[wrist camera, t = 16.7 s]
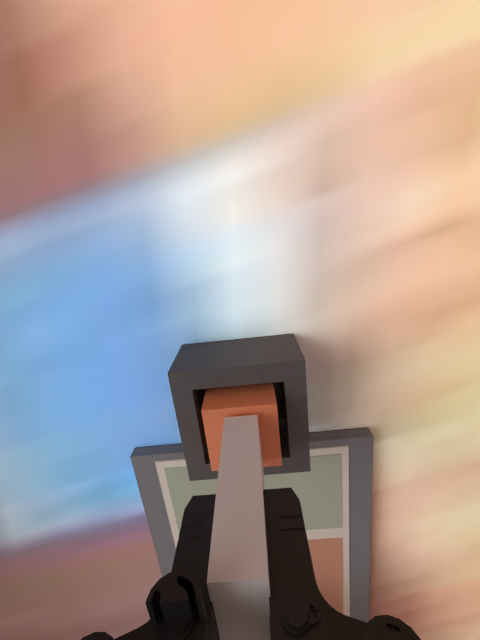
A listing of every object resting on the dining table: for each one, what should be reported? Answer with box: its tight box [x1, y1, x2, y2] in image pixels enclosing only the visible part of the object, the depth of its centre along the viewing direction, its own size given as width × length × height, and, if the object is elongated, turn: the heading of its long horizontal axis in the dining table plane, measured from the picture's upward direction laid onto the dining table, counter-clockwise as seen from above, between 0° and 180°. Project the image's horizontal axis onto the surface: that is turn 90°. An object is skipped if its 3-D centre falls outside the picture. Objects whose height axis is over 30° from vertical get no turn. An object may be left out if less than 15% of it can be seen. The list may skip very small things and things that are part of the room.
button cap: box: [201, 382, 282, 471], centre depth 15 cm, size 3×3×3 cm
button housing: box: [168, 334, 311, 481], centre depth 17 cm, size 6×6×4 cm
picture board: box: [131, 428, 373, 623], centre depth 22 cm, size 15×22×1 cm
